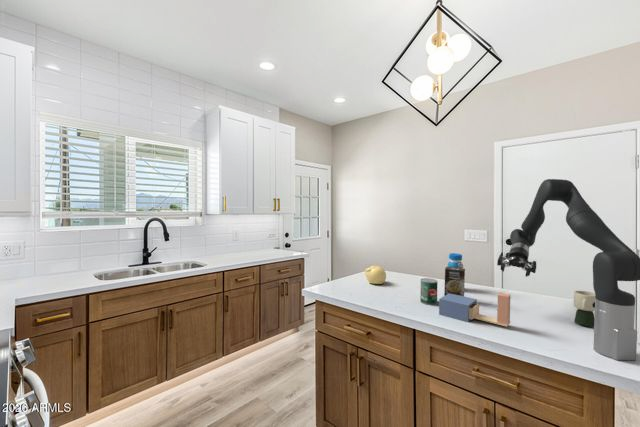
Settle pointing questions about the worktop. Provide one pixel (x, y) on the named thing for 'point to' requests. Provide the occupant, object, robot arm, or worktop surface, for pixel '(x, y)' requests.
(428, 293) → the canned tomato
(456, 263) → the beverage bottle
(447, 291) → the coffee box
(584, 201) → the robot arm
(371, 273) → the yellow apple
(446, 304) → the sleeve
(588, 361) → the worktop surface
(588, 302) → the character mug
